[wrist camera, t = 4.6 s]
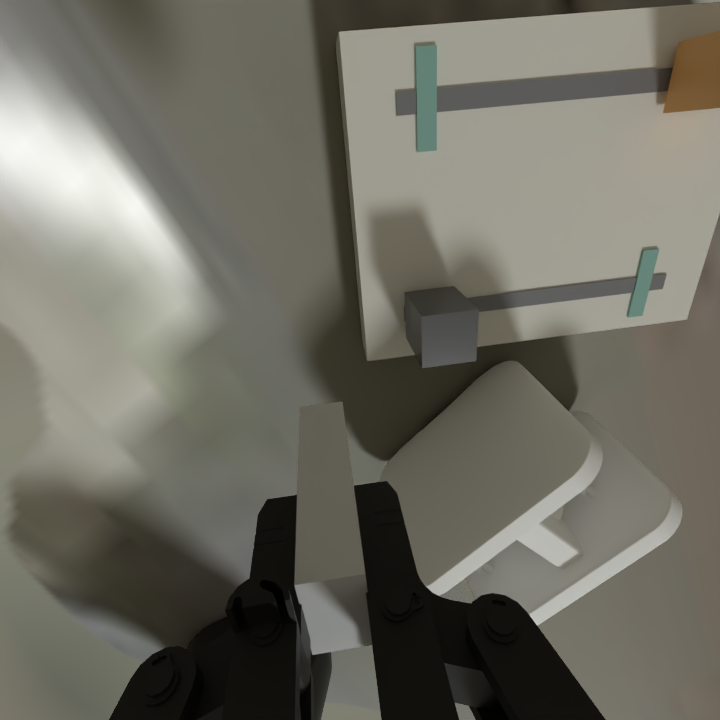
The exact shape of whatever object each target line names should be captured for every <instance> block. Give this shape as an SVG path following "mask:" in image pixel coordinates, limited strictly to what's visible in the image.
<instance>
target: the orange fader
mask: <svg viewBox="0 0 720 720" xmlns="http://www.w3.org/2000/svg"><path fill="white" fill-rule="evenodd" d="M714 108H720V30H719V31H716V32H712V33H709V34H705V35H702V36H698V37H695V38H691V39H688V40H684V41H681V42H679V43H678V47H677V52H676V56H675V61H674V65H673V70H672V74H671V79H670V83H669V87H668V92H667V96H666V101H665V105H664V110H663V113H672V112H683V111H693V110H703V109H714Z"/></svg>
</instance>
